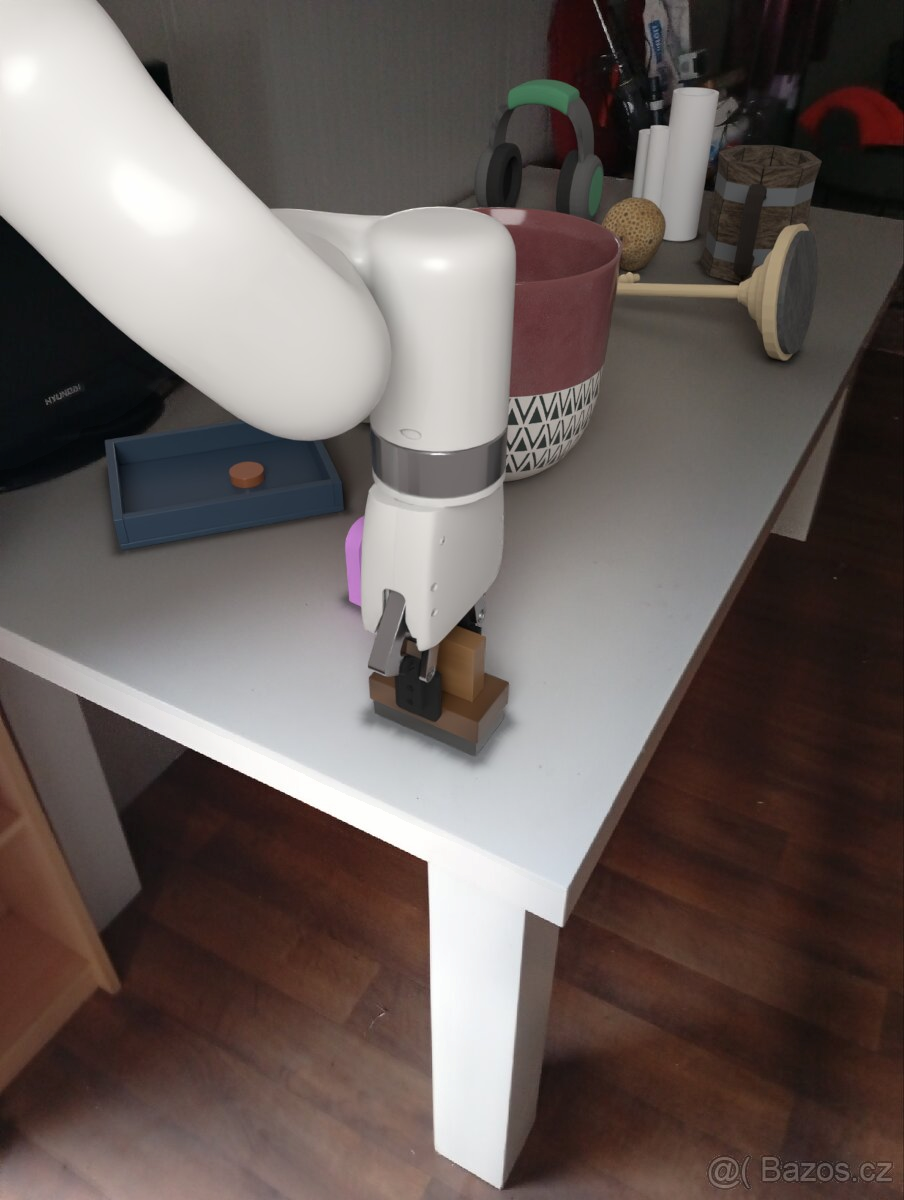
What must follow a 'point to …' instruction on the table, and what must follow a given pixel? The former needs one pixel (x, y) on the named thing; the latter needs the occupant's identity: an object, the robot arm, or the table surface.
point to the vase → (678, 161)
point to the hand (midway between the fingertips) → (438, 686)
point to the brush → (452, 694)
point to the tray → (214, 482)
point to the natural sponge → (636, 230)
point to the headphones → (504, 162)
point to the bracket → (354, 560)
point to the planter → (556, 331)
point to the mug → (755, 206)
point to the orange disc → (246, 474)
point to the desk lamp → (762, 291)
